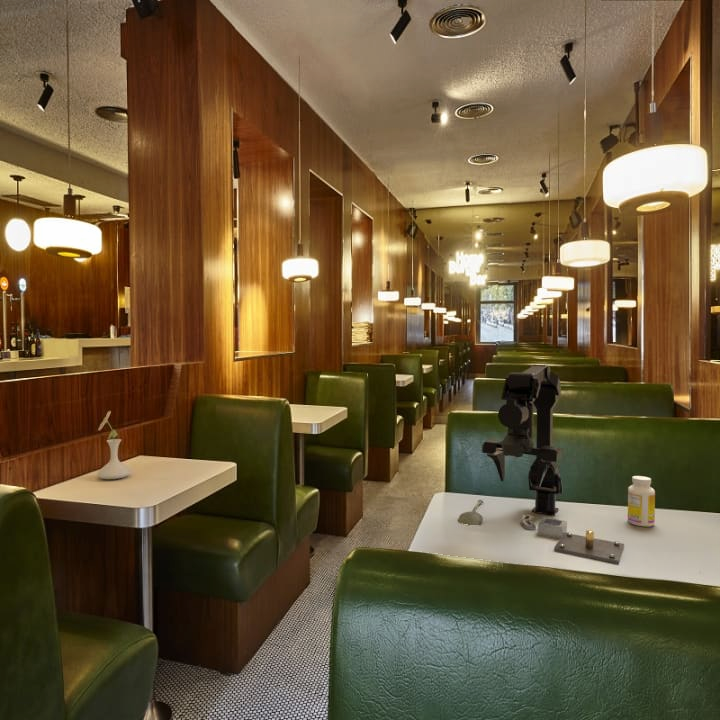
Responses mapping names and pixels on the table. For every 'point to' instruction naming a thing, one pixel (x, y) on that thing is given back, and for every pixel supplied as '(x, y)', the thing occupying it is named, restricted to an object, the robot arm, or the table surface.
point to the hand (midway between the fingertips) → (520, 483)
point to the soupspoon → (471, 516)
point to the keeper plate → (590, 547)
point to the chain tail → (528, 522)
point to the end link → (552, 527)
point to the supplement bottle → (641, 502)
